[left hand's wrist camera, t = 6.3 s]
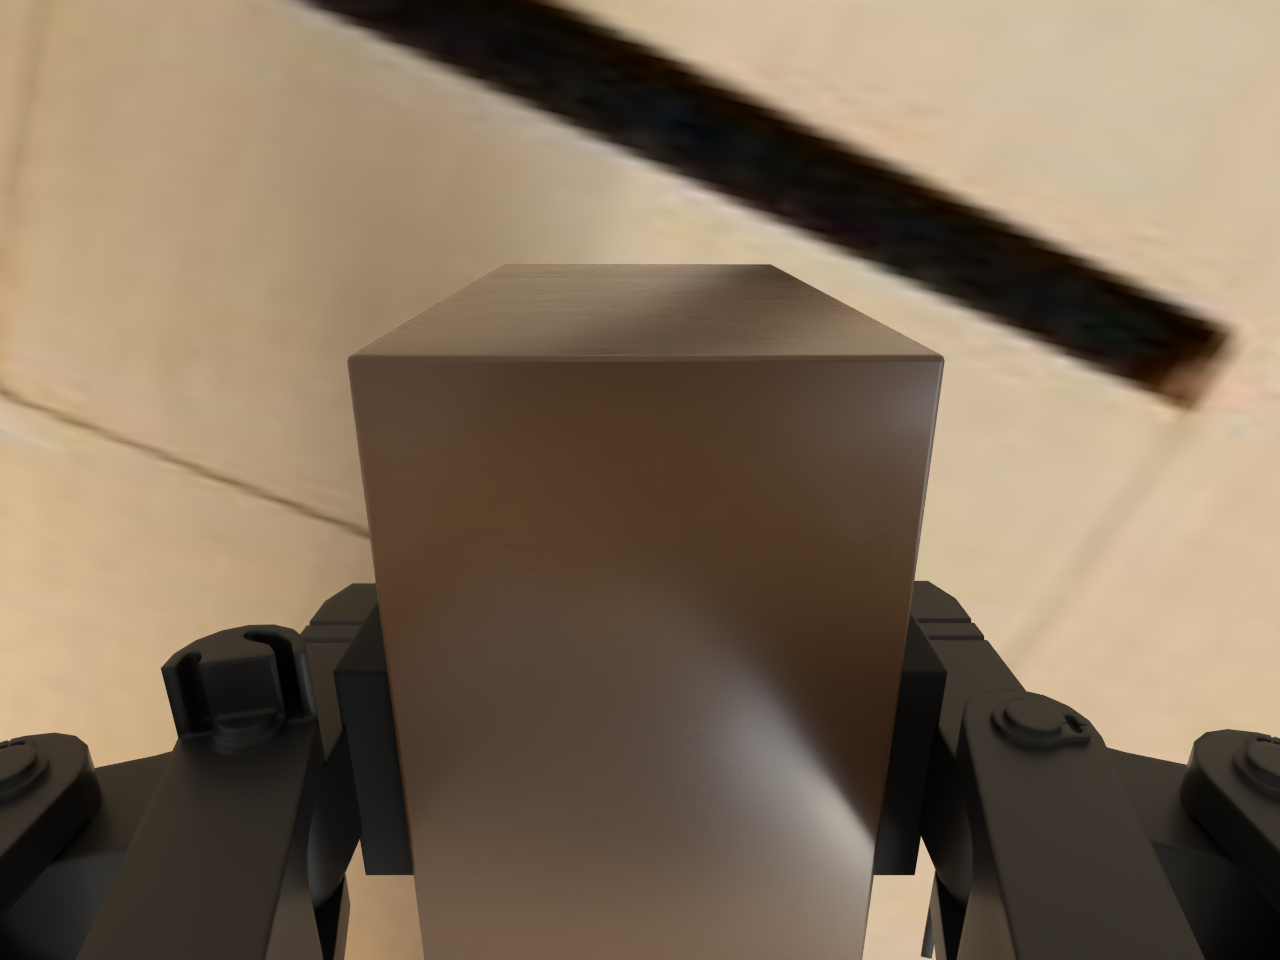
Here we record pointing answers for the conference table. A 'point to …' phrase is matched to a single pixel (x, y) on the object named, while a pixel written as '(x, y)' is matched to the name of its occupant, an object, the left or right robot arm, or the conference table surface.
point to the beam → (644, 605)
